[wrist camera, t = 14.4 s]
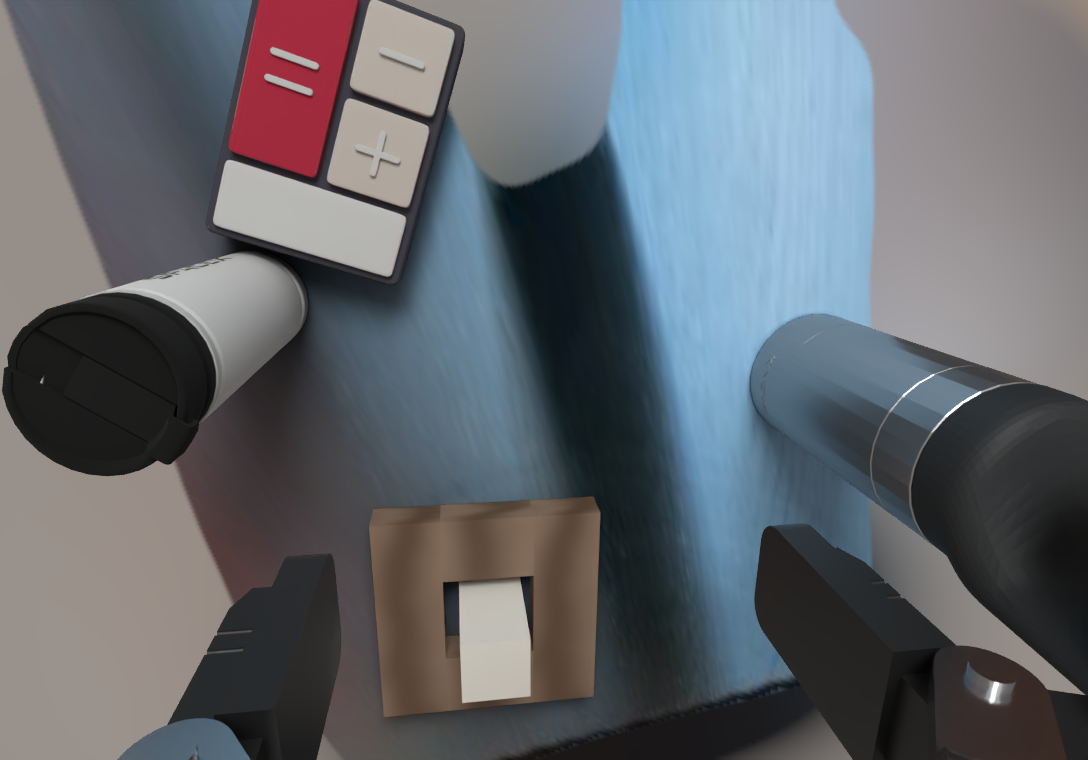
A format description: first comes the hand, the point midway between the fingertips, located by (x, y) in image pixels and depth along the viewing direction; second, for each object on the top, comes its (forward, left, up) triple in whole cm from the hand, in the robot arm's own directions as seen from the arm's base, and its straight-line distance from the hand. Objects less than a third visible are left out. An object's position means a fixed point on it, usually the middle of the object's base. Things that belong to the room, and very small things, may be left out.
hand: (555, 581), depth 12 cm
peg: (0, +23, -32) cm, 39 cm away
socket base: (0, +23, -32) cm, 39 cm away
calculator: (+8, -10, -33) cm, 35 cm away
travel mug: (+14, 0, -32) cm, 35 cm away
